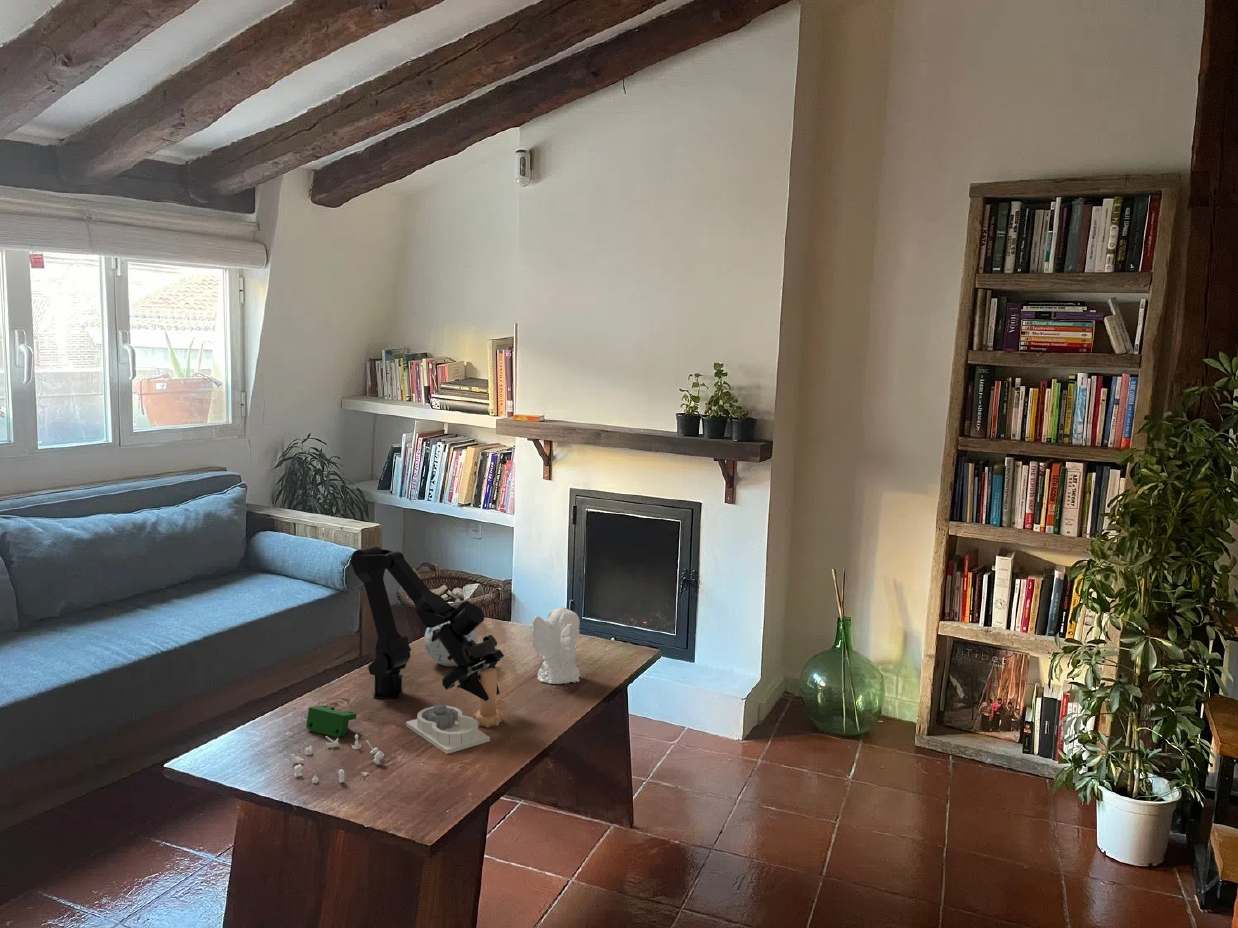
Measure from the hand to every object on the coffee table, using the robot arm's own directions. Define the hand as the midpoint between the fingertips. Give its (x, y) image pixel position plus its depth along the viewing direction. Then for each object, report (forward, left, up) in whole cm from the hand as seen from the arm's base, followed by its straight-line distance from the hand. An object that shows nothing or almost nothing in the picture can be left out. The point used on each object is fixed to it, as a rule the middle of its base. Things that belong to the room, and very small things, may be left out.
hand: (492, 697), depth 230 cm
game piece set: (-34, -21, -7) cm, 40 cm away
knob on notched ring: (-1, +1, -7) cm, 7 cm away
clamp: (-38, -3, -7) cm, 38 cm away
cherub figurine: (+18, +28, -7) cm, 34 cm away
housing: (-11, -6, -7) cm, 14 cm away
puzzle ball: (-13, +41, -7) cm, 44 cm away
